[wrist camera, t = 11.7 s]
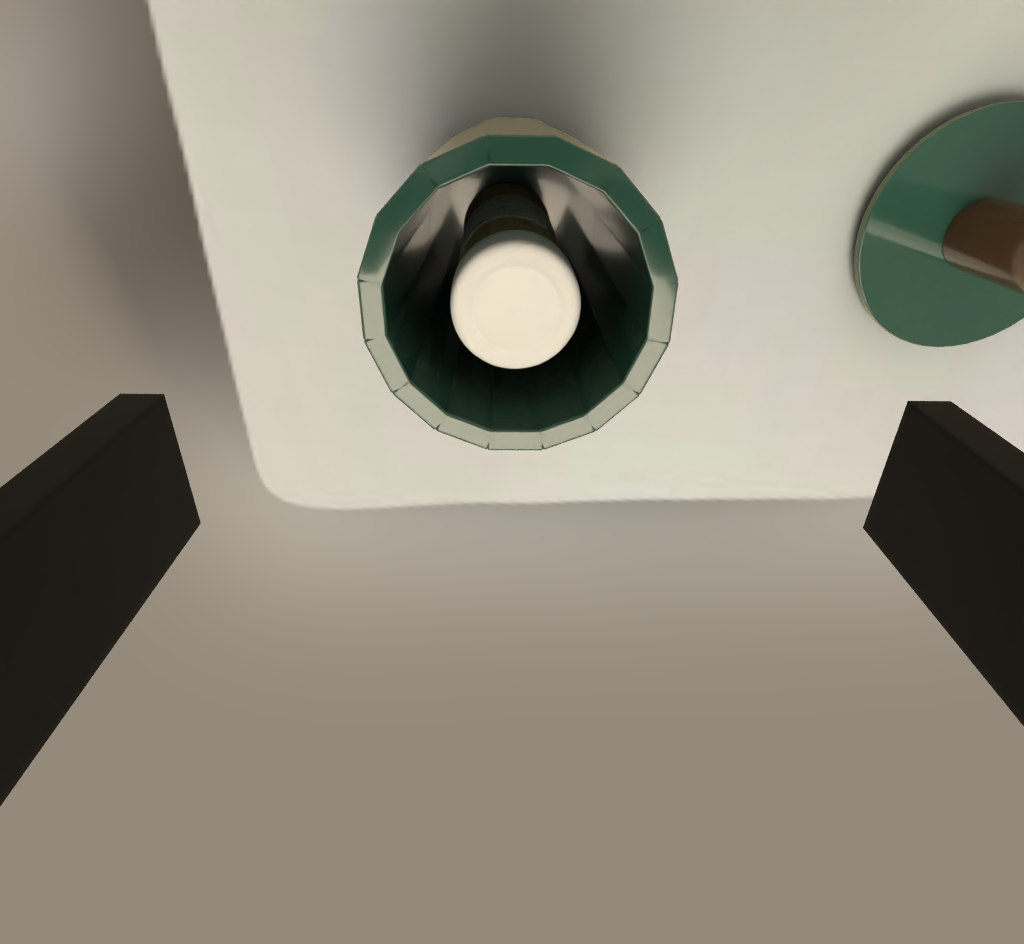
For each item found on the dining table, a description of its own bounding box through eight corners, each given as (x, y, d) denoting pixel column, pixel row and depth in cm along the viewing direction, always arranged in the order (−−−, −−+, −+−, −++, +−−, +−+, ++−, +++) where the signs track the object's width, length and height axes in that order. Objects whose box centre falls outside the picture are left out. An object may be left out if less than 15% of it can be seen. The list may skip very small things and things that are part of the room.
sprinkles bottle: (540, 279, 35) (566, 382, 23) (456, 264, 34) (441, 363, 23) (558, 188, 32) (597, 254, 21) (468, 171, 32) (458, 230, 21)
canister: (616, 118, 31) (699, 137, 18) (599, 320, 36) (654, 451, 23) (410, 115, 31) (340, 132, 18) (422, 318, 36) (374, 450, 23)
